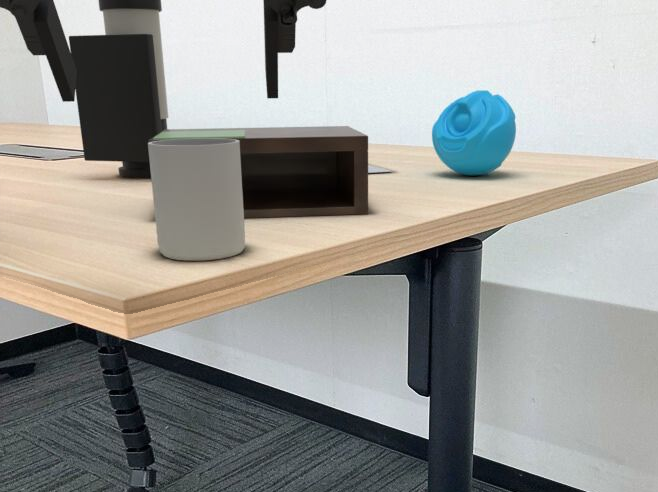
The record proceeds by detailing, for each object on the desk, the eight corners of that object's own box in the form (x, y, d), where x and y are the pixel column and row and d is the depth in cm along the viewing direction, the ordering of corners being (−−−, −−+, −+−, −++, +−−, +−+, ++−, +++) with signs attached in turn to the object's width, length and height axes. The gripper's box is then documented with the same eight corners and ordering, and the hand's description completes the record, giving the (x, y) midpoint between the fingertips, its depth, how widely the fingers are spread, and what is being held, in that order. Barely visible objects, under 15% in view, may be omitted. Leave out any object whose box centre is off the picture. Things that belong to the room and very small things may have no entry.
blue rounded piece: (416, 175, 108) (418, 91, 104) (462, 168, 116) (465, 89, 112) (486, 182, 101) (491, 91, 97) (530, 174, 108) (536, 89, 104)
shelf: (156, 220, 76) (147, 138, 74) (170, 197, 91) (164, 127, 88) (368, 214, 79) (368, 133, 76) (348, 192, 94) (348, 124, 91)
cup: (173, 265, 58) (162, 147, 55) (140, 242, 66) (129, 138, 63) (259, 254, 61) (253, 142, 58) (217, 234, 70) (210, 135, 67)
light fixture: (196, 172, 114) (182, -6, 106) (161, 182, 104) (142, -13, 96) (127, 170, 118) (108, -2, 109) (86, 179, 108) (61, -10, 99)
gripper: (-227, -244, 29) (-25, 131, 48) (402, -222, 32) (357, 123, 51) (-188, -344, 32) (-13, 46, 51) (382, -315, 35) (347, 43, 54)
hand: (172, 85), depth 51 cm, fingers open, 13 cm apart
